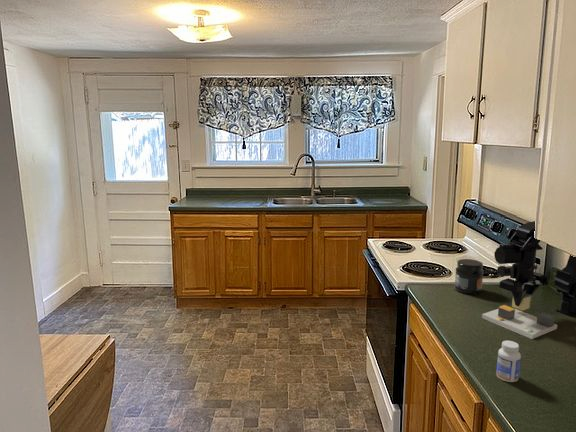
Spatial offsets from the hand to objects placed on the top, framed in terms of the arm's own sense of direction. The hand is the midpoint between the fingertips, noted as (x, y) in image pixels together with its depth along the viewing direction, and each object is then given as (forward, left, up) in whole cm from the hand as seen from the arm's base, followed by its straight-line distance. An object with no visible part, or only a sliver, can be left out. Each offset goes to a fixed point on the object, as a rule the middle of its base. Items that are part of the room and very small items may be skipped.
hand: (520, 304), depth 153 cm
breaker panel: (+6, +3, -4) cm, 8 cm away
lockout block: (0, 0, -1) cm, 1 cm away
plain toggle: (+2, +10, -3) cm, 11 cm away
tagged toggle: (+8, 0, -3) cm, 9 cm away
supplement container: (-6, -26, -5) cm, 27 cm away
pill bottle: (+39, +21, -5) cm, 45 cm away
